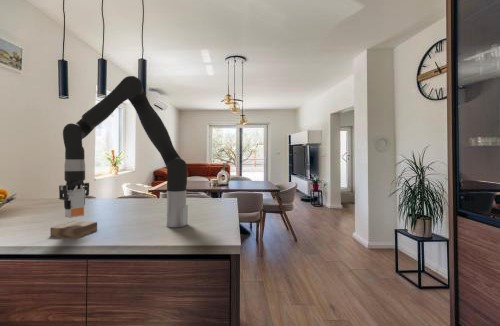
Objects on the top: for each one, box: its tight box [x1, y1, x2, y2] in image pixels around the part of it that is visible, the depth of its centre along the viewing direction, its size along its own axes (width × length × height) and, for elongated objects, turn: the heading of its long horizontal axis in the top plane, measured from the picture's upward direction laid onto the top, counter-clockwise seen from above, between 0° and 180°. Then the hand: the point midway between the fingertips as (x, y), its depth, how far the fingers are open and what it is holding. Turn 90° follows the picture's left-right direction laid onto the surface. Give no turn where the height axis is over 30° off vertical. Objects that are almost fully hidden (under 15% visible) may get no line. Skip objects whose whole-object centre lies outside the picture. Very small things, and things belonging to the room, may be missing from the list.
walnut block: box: [50, 220, 98, 239], centre depth 114 cm, size 12×12×4 cm
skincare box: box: [64, 189, 86, 219], centre depth 114 cm, size 6×4×12 cm
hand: (75, 207), depth 114 cm, fingers closed on skincare box, 7 cm apart
